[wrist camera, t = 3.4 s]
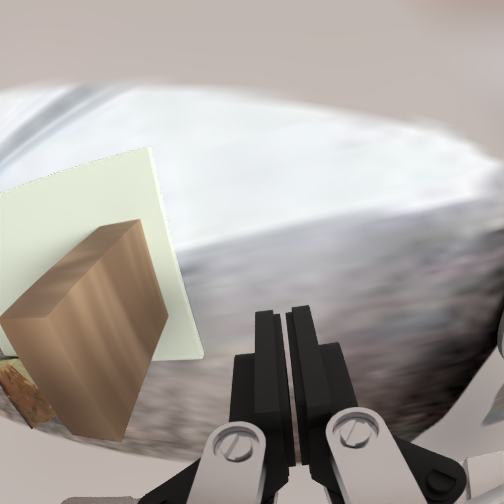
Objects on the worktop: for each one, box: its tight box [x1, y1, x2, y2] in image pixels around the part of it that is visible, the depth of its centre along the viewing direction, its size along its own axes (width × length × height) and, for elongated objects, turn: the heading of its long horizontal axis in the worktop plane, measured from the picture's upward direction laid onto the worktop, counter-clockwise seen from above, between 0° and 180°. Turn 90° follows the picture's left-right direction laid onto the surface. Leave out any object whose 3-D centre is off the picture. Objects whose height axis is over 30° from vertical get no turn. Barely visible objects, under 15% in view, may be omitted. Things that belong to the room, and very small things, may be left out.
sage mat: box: [0, 146, 204, 361], centre depth 18 cm, size 19×13×1 cm
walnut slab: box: [0, 219, 169, 442], centre depth 13 cm, size 2×6×9 cm, turn 8°
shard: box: [0, 359, 57, 429], centre depth 22 cm, size 11×8×2 cm
